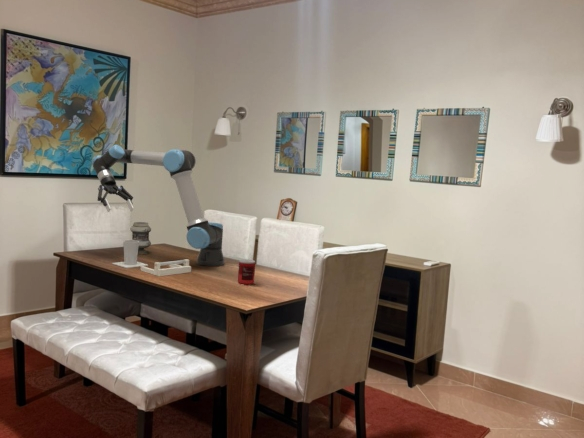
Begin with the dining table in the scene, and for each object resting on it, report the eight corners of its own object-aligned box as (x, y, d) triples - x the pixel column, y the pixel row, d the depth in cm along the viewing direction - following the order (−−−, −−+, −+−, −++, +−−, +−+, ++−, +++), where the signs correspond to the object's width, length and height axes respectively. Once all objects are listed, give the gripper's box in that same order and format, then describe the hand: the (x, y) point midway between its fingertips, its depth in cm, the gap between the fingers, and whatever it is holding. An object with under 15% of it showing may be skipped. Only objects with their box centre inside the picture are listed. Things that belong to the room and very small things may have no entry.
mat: (134, 261, 291) (134, 260, 291) (148, 265, 283) (148, 264, 283) (112, 263, 281) (112, 262, 281) (126, 268, 273) (126, 267, 273)
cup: (133, 265, 277) (134, 242, 276) (119, 264, 279) (120, 241, 278) (141, 263, 285) (141, 240, 284) (127, 261, 287) (128, 239, 286)
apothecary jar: (129, 250, 323) (130, 221, 321) (149, 251, 327) (151, 221, 325) (129, 254, 312) (130, 223, 310) (151, 254, 315) (152, 224, 314)
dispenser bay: (140, 270, 269) (140, 258, 269) (172, 266, 284) (172, 255, 284) (158, 276, 259) (159, 264, 259) (191, 272, 274) (191, 260, 273)
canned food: (245, 280, 262) (246, 258, 261) (257, 283, 257) (258, 261, 256) (234, 282, 256) (235, 260, 255) (246, 286, 251) (247, 262, 250)
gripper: (124, 184, 306) (138, 213, 298) (82, 184, 287) (96, 215, 279) (130, 176, 302) (144, 205, 294) (88, 174, 283) (102, 205, 275)
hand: (121, 210), depth 286 cm, fingers open, 13 cm apart
